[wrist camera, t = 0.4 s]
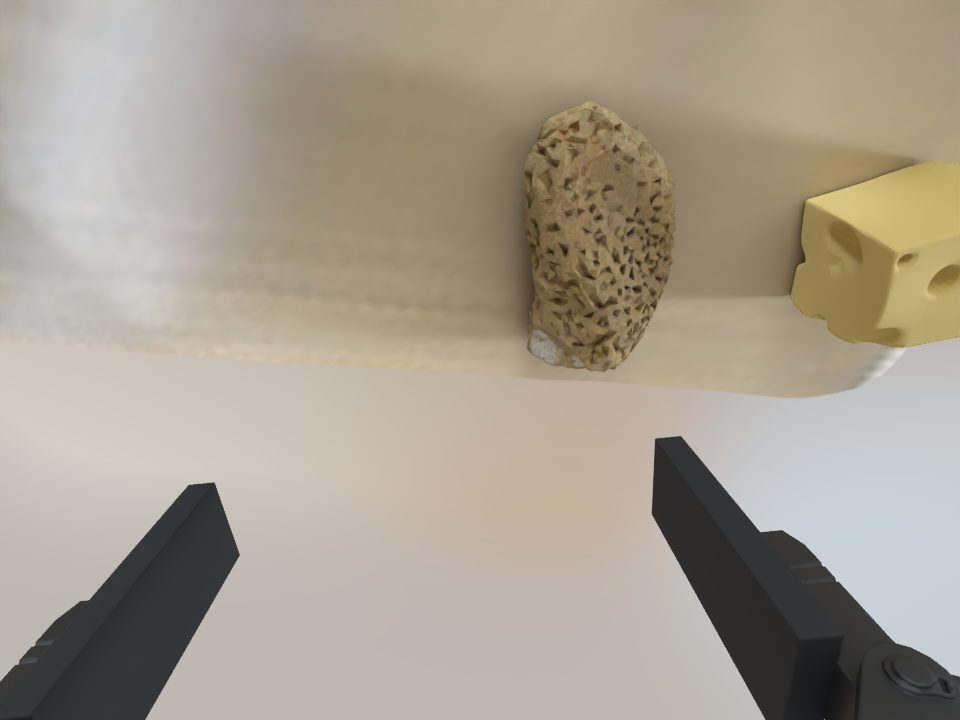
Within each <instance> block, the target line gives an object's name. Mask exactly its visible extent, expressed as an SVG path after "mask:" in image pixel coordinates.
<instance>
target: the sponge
mask: <svg viewBox="0 0 960 720" xmlns="http://www.w3.org/2000/svg"><path fill="white" fill-rule="evenodd" d="M523 186H524V189H525V191H526V192H527V193H528V194H527V195H526V197H524V198H523V203H524V208H525V222H526V226H527V230H526V238H527V240H528V242H529V244H530V246H531V250H532V253H531V259H532V279H533V281H534V290H535V300H534V302H533V304H532V305H531V309H530V312H529V319H530V320H531V322H528V333H529V336H530V339H529V341H528V345H527V349H528V350H529V351H530V353H531V354H533V355H535V356H537V357H538V358H540V359H542V360H543V361H544V362H546V363H548V364H550V365H553V366H565V367H567V368H574V369H581V368H586V369H588V370H590V371H602V372H605V371H607V370H608V369H615V368H616V366H618V365H620V363H622V362H623V361H624V360H625V359H627V357H628V355H629V353H630V352H631V351H632V350H633V349H634V347H635V346H636V344H637V343H638V342H639V340H640V339H641V338H642V336H643V334H644V331H645V329H646V326H647V325H648V323H649V321H650V319H651V318H653V313H654V311H655V309H656V306H657V304H658V301H659V299H660V297H661V295H662V293H663V288H664V286H665V284H666V282H667V279H668V276H669V266H670V265H671V264H672V263H674V260H673V258H672V256H671V250H672V248H673V246H674V237H673V235H672V233H673V232H674V231H675V217H672V215H673V214H674V212H675V211H674V184H673V182H672V180H671V171H670V170H669V169H668V168H667V163H666V161H665V159H664V158H663V156H662V155H661V154H659V153H658V150H657V149H656V148H655V147H654V146H653V145H652V144H651V143H650V142H649V141H648V139H647V138H646V137H645V136H644V135H643V134H642V133H641V132H640V131H639V130H638V127H637V126H635V127H633V128H631V127H630V126H629V125H628V124H627V123H626V122H624V121H623V120H622V119H621V118H620V117H619V116H618V115H617V114H616V113H615V112H613V111H611V110H609V109H607V108H605V107H603V106H600V105H597V104H595V103H593V102H591V101H587V102H586V103H585V104H583V105H581V106H577V107H572V108H569V109H567V110H565V111H563V112H561V113H558V114H556V115H553V116H551V117H549V118H548V119H547V120H546V122H545V123H544V124H543V126H542V128H541V131H540V134H539V137H538V140H537V142H536V144H535V145H534V146H533V147H532V149H531V151H530V153H529V154H528V155H527V158H526V163H525V167H524V171H523Z"/></svg>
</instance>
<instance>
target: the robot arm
mask: <svg viewBox="0 0 960 720" xmlns="http://www.w3.org/2000/svg"><path fill="white" fill-rule="evenodd" d="M652 515H653V517H654V519H655V521H656V523H657V524H658V526H659V528H660V530H661V532H662V533H663V535H664V537H665V539H666V541H667V542H668V544H669V546H670V548H671V550H672V551H673V553H674V555H675V557H676V559H677V561H678V562H679V564H680V566H681V568H682V570H683V571H684V573H685V575H686V577H687V579H688V580H689V582H690V584H691V586H692V588H693V589H694V591H695V593H696V595H697V597H698V599H699V600H700V602H701V604H702V606H703V608H704V609H705V611H706V613H707V615H708V616H709V618H710V620H711V622H712V624H713V626H714V627H715V629H716V631H717V632H718V635H719V636H720V638H721V640H722V642H723V644H724V646H725V647H726V649H727V651H728V653H729V654H730V656H731V658H732V660H733V662H734V664H735V665H736V667H737V669H738V671H739V673H740V674H741V676H742V678H743V680H744V681H745V683H746V685H747V687H748V689H749V691H750V692H751V694H752V696H753V698H754V700H755V701H756V703H757V705H758V707H759V709H760V711H761V712H762V714H763V716H764V718H765V720H824V719H825V720H960V677H958V676H954V675H951V674H950V673H949V672H948V671H947V670H946V669H944V668H943V667H942V666H941V665H939V664H938V663H937V662H935V661H934V660H933V659H931V658H930V657H928V656H926V655H924V654H922V653H920V652H919V651H917V650H914V649H913V648H910V647H907V646H903V645H900V644H896V643H895V642H894V641H892V639H891V638H890V637H889V636H888V635H887V634H886V633H885V632H884V631H883V630H882V629H881V627H880V626H879V625H878V624H877V623H876V622H875V621H874V620H873V619H872V618H871V617H870V615H869V614H868V613H867V612H866V611H865V610H864V609H863V608H862V607H861V606H860V604H858V602H857V601H856V600H855V599H854V598H853V597H852V596H851V595H850V594H849V593H848V591H847V590H846V589H845V588H844V587H843V586H842V585H841V584H840V583H839V582H836V580H835V577H834V576H833V575H832V574H831V573H830V572H829V571H828V570H827V569H826V567H823V566H822V564H821V562H820V561H819V560H818V559H817V558H816V556H815V555H814V554H813V553H812V552H811V551H810V550H809V549H808V548H807V547H806V546H805V545H804V544H803V543H801V542H800V541H798V540H797V539H795V538H793V537H792V536H790V535H789V534H787V533H786V532H784V531H782V530H779V531H769V532H759V530H758V529H757V528H756V527H755V526H754V524H753V523H752V522H751V520H750V519H749V518H748V517H747V516H746V515H745V513H744V512H743V511H742V510H741V508H740V507H739V506H738V505H737V504H736V503H735V501H734V500H733V499H732V497H731V496H730V495H729V494H728V493H727V491H726V490H725V489H724V488H723V487H722V485H721V484H720V483H719V482H718V481H717V479H716V478H715V477H714V476H713V474H712V473H711V472H710V471H709V470H708V469H707V467H706V466H705V465H704V464H703V462H702V461H701V460H700V459H699V457H698V456H697V455H696V454H695V453H694V451H693V450H692V449H691V448H690V447H689V445H688V444H687V443H686V442H685V440H684V439H683V438H682V437H681V436H677V437H668V438H657V439H655V455H654V477H653V500H652ZM239 556H240V555H239V551H238V549H237V546H236V543H235V540H234V537H233V534H232V532H231V529H230V526H229V523H228V520H227V517H226V514H225V511H224V508H223V506H222V503H221V500H220V497H219V494H218V491H217V488H216V485H215V483H204V484H194V485H188V487H187V488H186V489H185V490H184V491H183V492H182V493H181V495H180V496H179V497H178V498H177V499H176V500H175V502H174V503H173V504H172V505H171V506H170V507H169V509H168V510H167V511H166V512H165V513H164V514H163V515H162V517H161V518H160V519H159V520H158V521H157V522H156V524H155V525H154V526H153V527H152V528H151V529H150V531H149V532H148V533H147V534H146V535H145V536H144V538H143V539H142V540H141V541H140V542H139V543H138V544H137V545H136V547H135V548H134V549H133V550H132V551H131V552H130V554H129V555H128V556H127V557H126V558H125V559H124V561H123V562H122V563H121V564H120V565H119V566H118V568H117V569H116V570H115V571H114V572H113V573H112V575H111V576H110V577H109V578H108V579H107V580H106V581H105V583H104V584H103V585H102V586H101V587H100V588H99V589H98V591H97V592H96V593H95V594H94V595H93V596H92V598H91V599H90V600H88V601H80V602H79V603H78V604H76V605H75V606H74V607H72V608H71V609H70V610H68V611H67V612H66V613H65V614H63V615H62V616H61V617H59V618H58V619H57V620H56V621H55V622H54V623H53V624H52V625H51V626H50V627H49V628H48V629H47V630H46V632H45V633H44V634H43V635H42V636H41V637H40V638H39V639H38V640H37V641H36V645H35V646H34V647H31V648H30V649H29V650H28V651H27V653H26V654H25V655H24V656H23V657H22V658H21V659H20V660H19V661H20V662H19V664H18V665H15V666H14V667H13V668H12V669H11V670H10V672H9V673H8V674H7V675H6V676H5V677H4V678H3V679H2V681H0V720H145V719H146V717H147V716H148V714H149V712H150V710H151V709H152V707H153V705H154V703H155V702H156V700H157V698H158V696H159V695H160V693H161V691H162V690H163V688H164V686H165V684H166V682H167V681H168V679H169V677H170V676H171V674H172V672H173V670H174V669H175V667H176V665H177V663H178V662H179V660H180V658H181V656H182V655H183V653H184V651H185V649H186V647H187V646H188V644H189V642H190V641H191V639H192V637H193V636H194V634H195V632H196V630H197V629H198V627H199V625H200V623H201V622H202V620H203V618H204V616H205V615H206V613H207V611H208V609H209V608H210V606H211V604H212V603H213V601H214V599H215V597H216V595H217V593H218V592H219V590H220V589H221V587H222V585H223V583H224V582H225V580H226V578H227V576H228V575H229V573H230V571H231V569H232V568H233V566H234V564H235V562H236V561H237V559H238V557H239Z"/></svg>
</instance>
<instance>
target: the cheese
mask: <svg viewBox="0 0 960 720" xmlns="http://www.w3.org/2000/svg"><path fill="white" fill-rule="evenodd" d="M801 244H802V248H803V251H804V253H805V262H804V263H801V264H799V265H798V266H797V268H796V273H795V277H794V283H793V287H792V291H791V300H792V301H793V303H794V305H795V306H796V307H797V308H798V309H799V310H800V311H801V312H802V313H804V314H805V315H807V316H808V317H810V318H819V319H823V320H826V321H827V326H828V330H829V331H830V332H831V333H833V334H834V335H835V336H837V337H838V338H840V339H842V340H844V341H846V342H850V343H858V342H872V343H877V344H881V345H886V346H890V347H910V346H916V345H921V344H925V343H930V342H935V341H941V340H946V339H951V338H957V337H960V165H957V164H951V163H943V162H935V161H926V162H923V163H920V164H916V165H913V166H909V167H906V168H903V169H900V170H897V171H894V172H891V173H888V174H885V175H882V176H880V177H877V178H874V179H871V180H868V181H865V182H863V183H860V184H857V185H854V186H850V187H847V188H844V189H841V190H837V191H834V192H831V193H827V194H824V195H820V196H817V197H813V198H810V199H807V200H806V202H805V208H804V216H803V225H802V234H801Z"/></svg>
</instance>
